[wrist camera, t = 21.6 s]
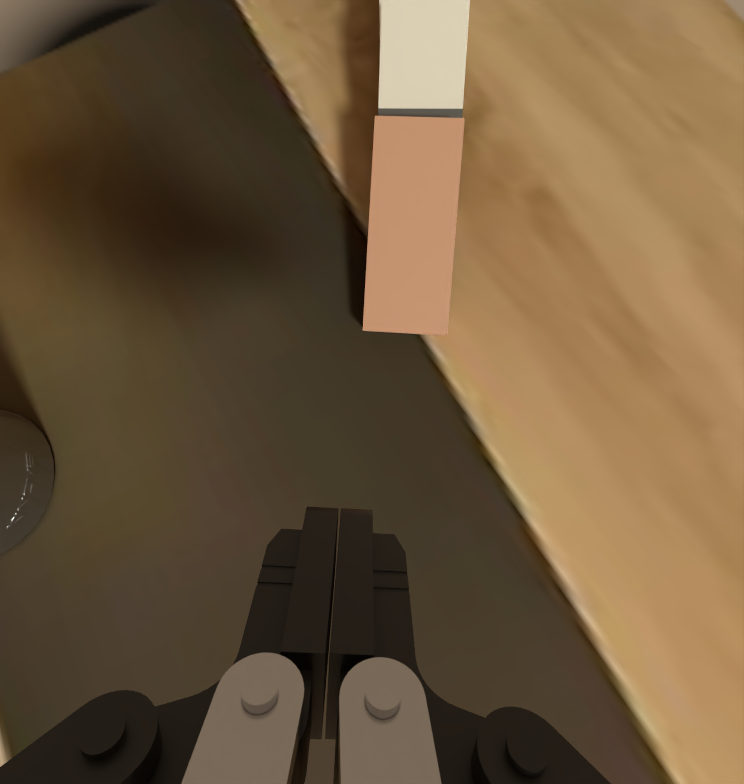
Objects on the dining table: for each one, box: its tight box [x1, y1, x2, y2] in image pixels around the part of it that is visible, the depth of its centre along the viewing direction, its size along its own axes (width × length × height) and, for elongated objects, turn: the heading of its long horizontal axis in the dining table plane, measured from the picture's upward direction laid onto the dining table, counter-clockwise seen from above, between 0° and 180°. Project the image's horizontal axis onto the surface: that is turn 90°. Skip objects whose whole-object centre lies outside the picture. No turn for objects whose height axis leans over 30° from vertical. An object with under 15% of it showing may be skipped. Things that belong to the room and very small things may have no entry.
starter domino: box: [363, 116, 465, 336], centre depth 28 cm, size 5×2×12 cm
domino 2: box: [378, 0, 470, 118], centre depth 29 cm, size 5×2×12 cm
